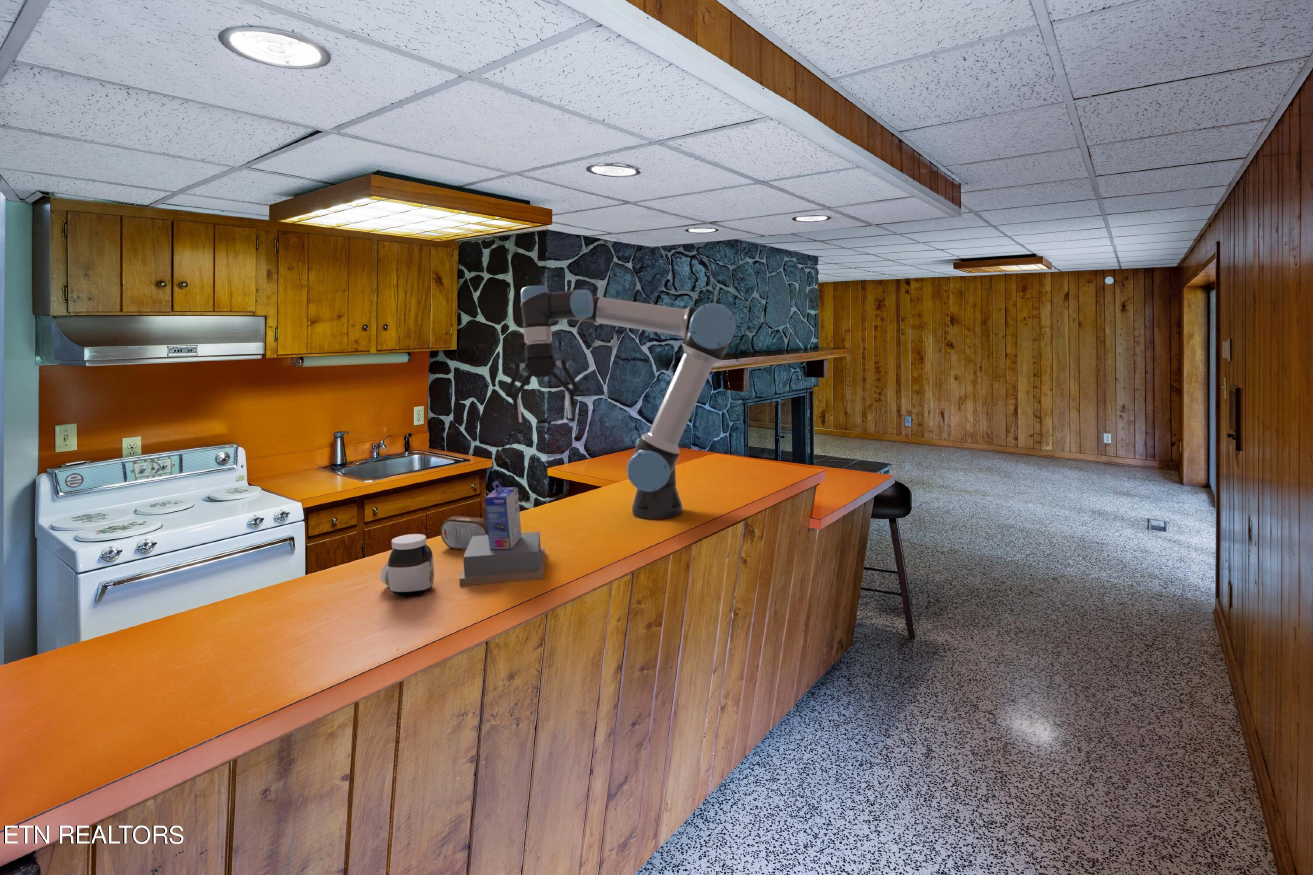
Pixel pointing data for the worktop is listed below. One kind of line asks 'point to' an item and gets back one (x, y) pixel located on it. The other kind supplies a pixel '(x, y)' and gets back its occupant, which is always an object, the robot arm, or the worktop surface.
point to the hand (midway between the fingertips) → (545, 420)
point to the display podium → (503, 561)
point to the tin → (462, 531)
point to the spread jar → (409, 566)
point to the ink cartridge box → (503, 517)
